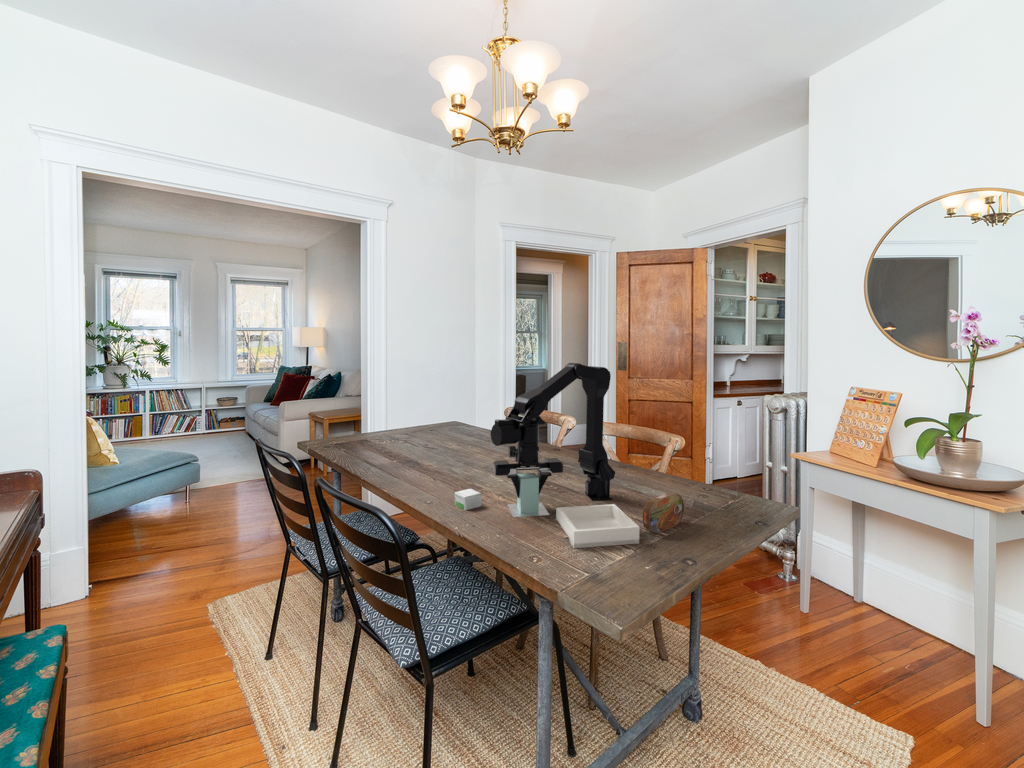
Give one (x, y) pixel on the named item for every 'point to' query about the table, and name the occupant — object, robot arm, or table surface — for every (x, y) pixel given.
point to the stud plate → (516, 513)
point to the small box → (468, 499)
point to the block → (528, 493)
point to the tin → (663, 512)
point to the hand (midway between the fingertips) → (527, 497)
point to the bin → (597, 526)
